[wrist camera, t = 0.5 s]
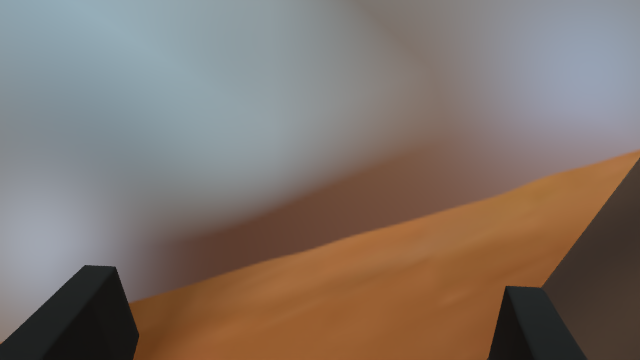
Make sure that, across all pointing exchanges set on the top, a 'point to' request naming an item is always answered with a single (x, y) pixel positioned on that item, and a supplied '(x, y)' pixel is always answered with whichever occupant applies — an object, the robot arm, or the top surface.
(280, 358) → the top surface
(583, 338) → the cabinet
